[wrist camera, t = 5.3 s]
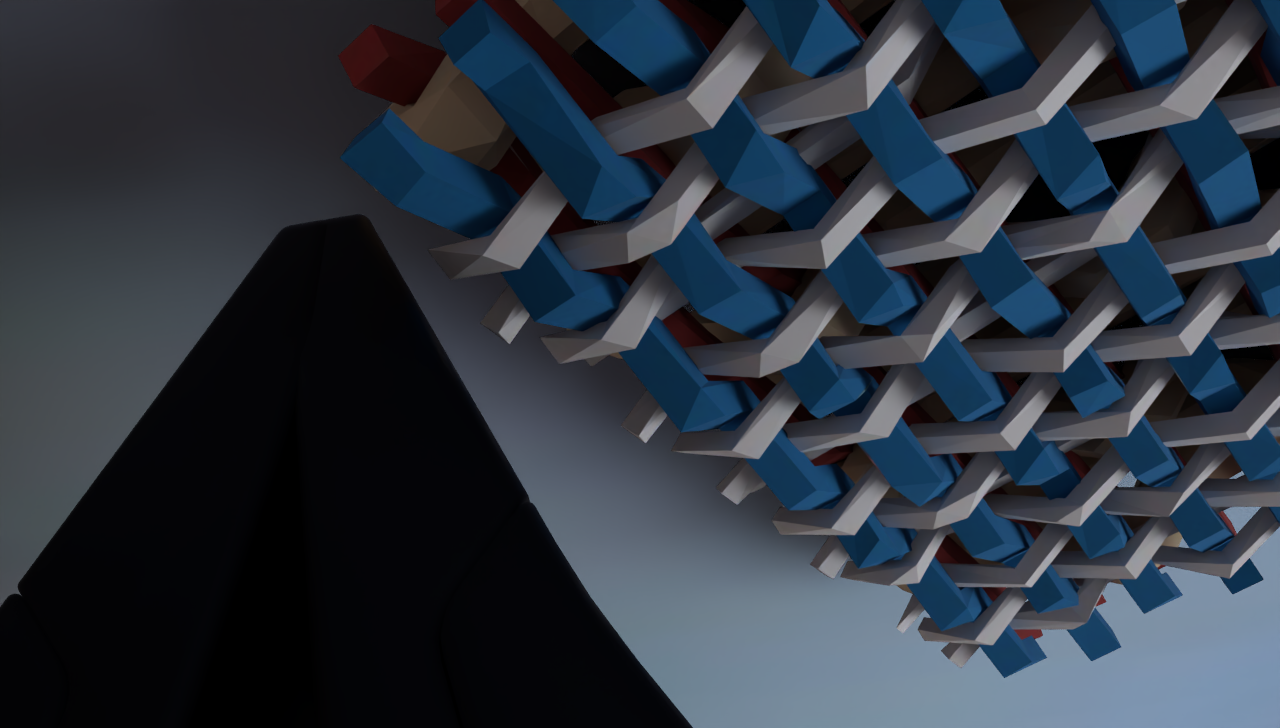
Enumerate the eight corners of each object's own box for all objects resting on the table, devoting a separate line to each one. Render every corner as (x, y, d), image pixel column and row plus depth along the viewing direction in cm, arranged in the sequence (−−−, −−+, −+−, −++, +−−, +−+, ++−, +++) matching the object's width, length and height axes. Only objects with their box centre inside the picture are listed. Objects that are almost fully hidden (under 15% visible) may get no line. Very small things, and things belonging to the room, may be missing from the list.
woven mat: (944, 590, 15) (999, 736, 14) (282, 51, 8) (253, 224, 7) (1894, 114, 11) (2109, 249, 10) (2027, -1556, 5) (2741, -1887, 3)
